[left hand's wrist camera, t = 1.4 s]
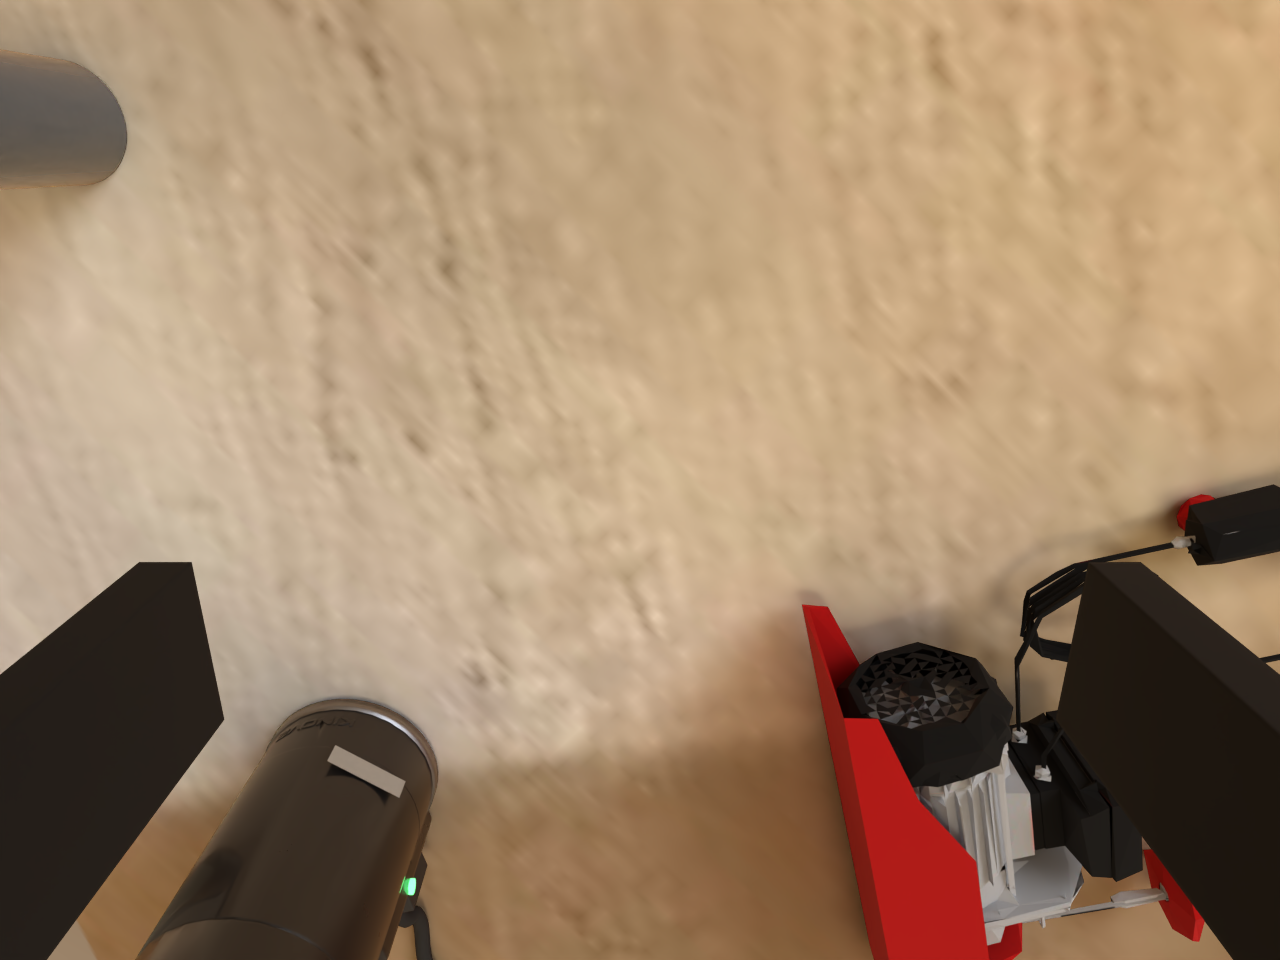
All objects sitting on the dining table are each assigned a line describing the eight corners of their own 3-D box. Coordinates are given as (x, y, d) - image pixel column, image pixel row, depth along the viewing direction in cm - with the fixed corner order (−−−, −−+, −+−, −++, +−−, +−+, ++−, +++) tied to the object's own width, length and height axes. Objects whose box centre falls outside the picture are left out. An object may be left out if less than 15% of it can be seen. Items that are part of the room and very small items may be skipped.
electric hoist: (1639, 542, 32) (840, 707, 34) (1521, 1005, 42) (916, 1106, 44) (1410, 444, 41) (794, 580, 43) (1360, 843, 51) (866, 934, 54)
